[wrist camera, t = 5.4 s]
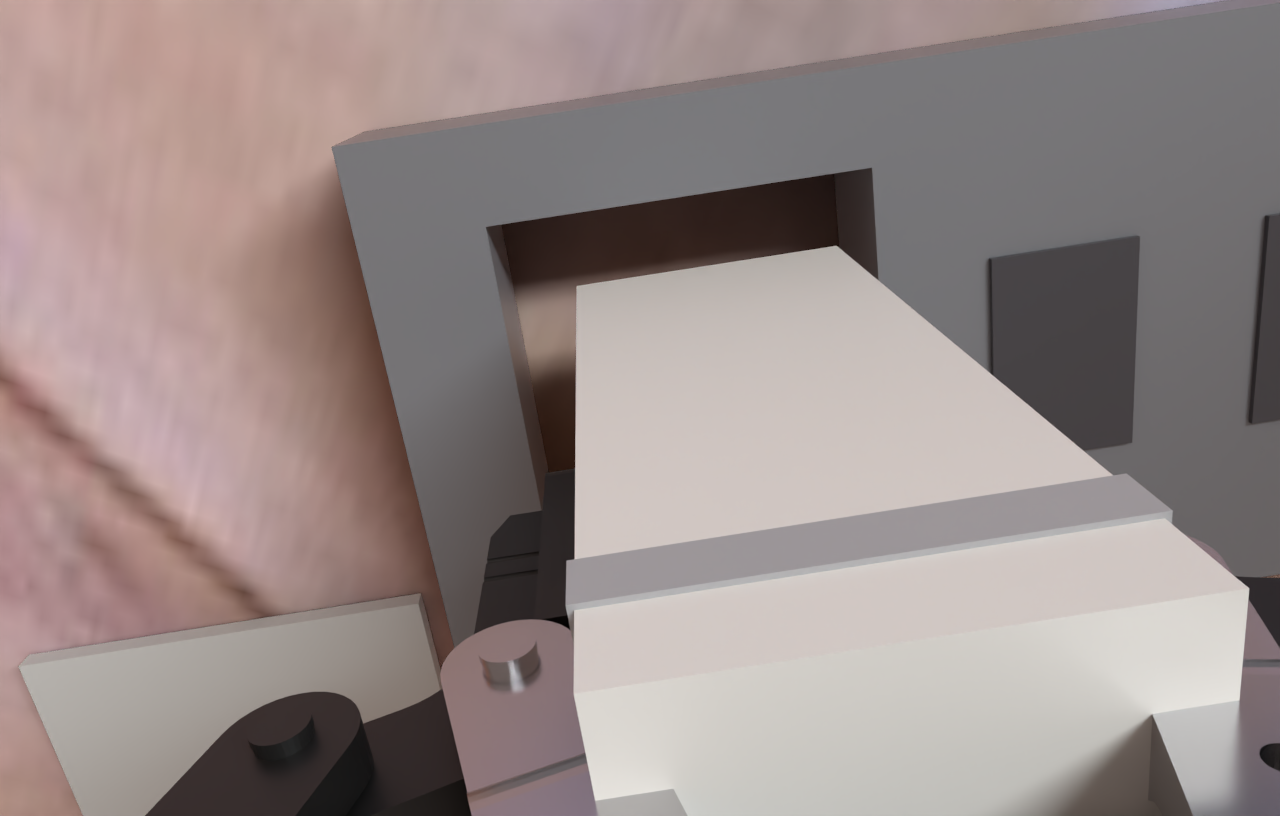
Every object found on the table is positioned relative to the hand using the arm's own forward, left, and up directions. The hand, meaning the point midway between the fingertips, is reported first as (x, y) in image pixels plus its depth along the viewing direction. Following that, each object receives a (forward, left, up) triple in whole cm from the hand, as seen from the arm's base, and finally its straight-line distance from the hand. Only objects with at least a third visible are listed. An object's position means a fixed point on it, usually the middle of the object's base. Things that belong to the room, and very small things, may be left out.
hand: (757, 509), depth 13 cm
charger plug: (0, 0, -3) cm, 3 cm away
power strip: (-5, 0, -6) cm, 8 cm away
